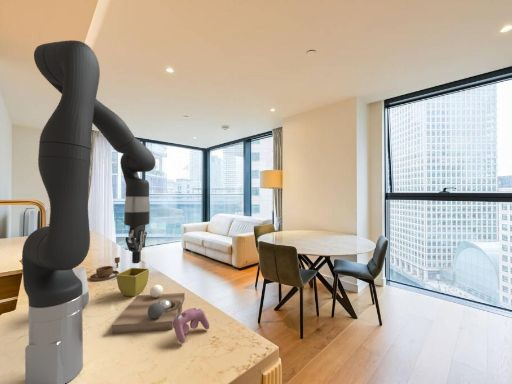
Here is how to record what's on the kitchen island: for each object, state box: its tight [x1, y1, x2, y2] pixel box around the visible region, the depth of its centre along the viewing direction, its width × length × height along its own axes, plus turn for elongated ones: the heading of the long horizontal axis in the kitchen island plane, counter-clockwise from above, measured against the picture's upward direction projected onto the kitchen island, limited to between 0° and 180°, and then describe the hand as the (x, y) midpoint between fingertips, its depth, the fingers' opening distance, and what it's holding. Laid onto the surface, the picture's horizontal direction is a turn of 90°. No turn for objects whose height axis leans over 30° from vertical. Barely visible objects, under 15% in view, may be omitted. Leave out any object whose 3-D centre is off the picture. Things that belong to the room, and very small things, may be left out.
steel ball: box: [160, 300, 171, 310], centre depth 80 cm, size 4×4×4 cm
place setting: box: [89, 256, 121, 282], centre depth 120 cm, size 18×20×6 cm
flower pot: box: [115, 267, 150, 297], centre depth 96 cm, size 9×9×9 cm
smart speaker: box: [72, 266, 90, 310], centre depth 83 cm, size 10×9×14 cm
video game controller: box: [173, 307, 210, 345], centre depth 68 cm, size 10×5×7 cm, turn 141°
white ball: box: [149, 284, 164, 298], centre depth 87 cm, size 4×4×4 cm
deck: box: [111, 292, 186, 335], centre depth 79 cm, size 20×18×2 cm
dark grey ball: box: [148, 303, 163, 319], centre depth 72 cm, size 4×4×4 cm
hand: (136, 262), depth 79 cm, fingers closed
